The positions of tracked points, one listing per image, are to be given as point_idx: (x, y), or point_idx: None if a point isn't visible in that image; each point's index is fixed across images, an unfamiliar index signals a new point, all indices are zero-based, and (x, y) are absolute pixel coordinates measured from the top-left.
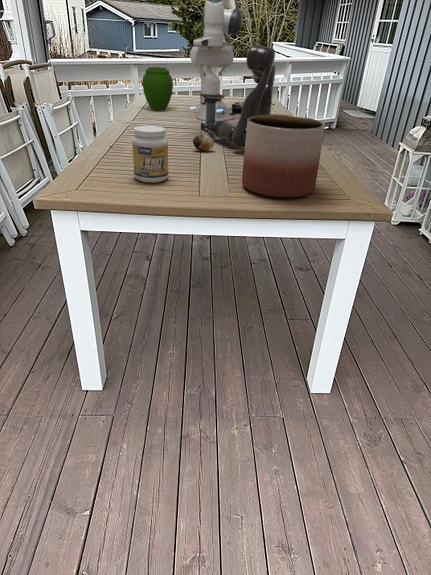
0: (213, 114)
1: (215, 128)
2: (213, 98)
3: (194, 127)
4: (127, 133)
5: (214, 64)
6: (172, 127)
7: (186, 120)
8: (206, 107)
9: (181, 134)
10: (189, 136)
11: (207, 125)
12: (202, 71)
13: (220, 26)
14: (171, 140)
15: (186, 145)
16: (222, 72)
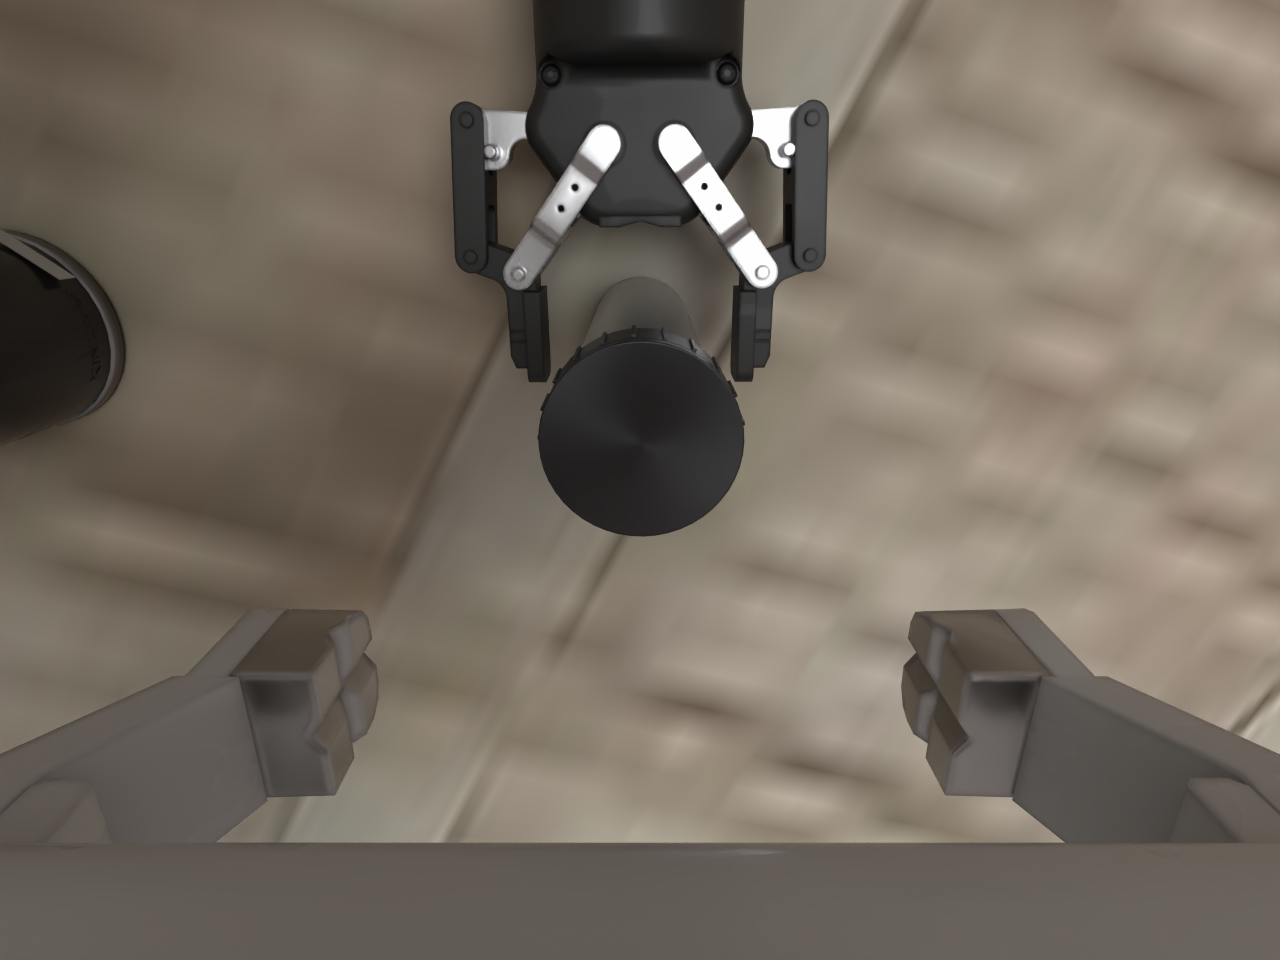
0: (630, 311)
1: (743, 7)
2: (647, 341)
3: (588, 729)
4: (1256, 667)
5: (617, 849)
6: (776, 770)
7: None
8: None
9: (842, 518)
10: (813, 424)
11: (748, 224)
12: (1117, 705)
13: None
14: (1070, 317)
15: (1061, 55)
16: (203, 666)
